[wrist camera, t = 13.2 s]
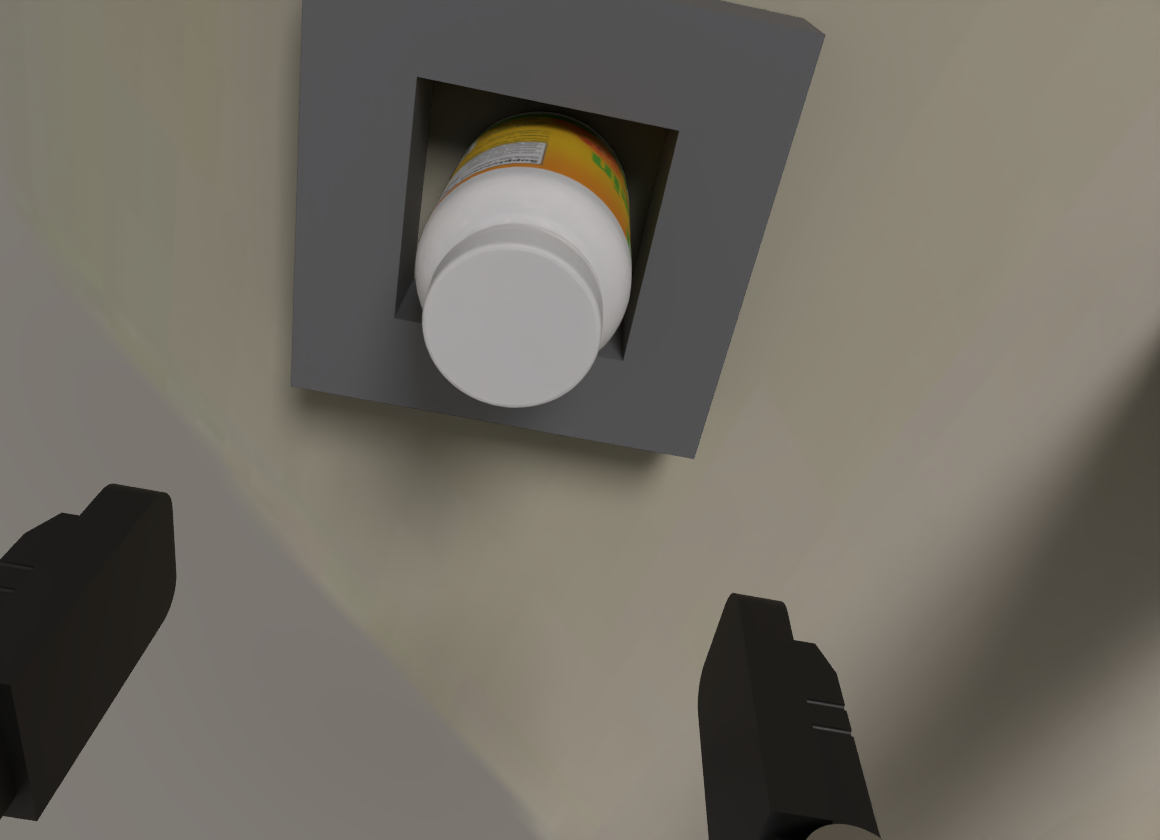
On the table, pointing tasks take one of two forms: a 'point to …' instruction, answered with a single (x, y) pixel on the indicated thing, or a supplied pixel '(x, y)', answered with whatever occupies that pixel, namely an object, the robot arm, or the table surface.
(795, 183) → the table surface
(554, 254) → the supplement bottle
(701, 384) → the socket holder
